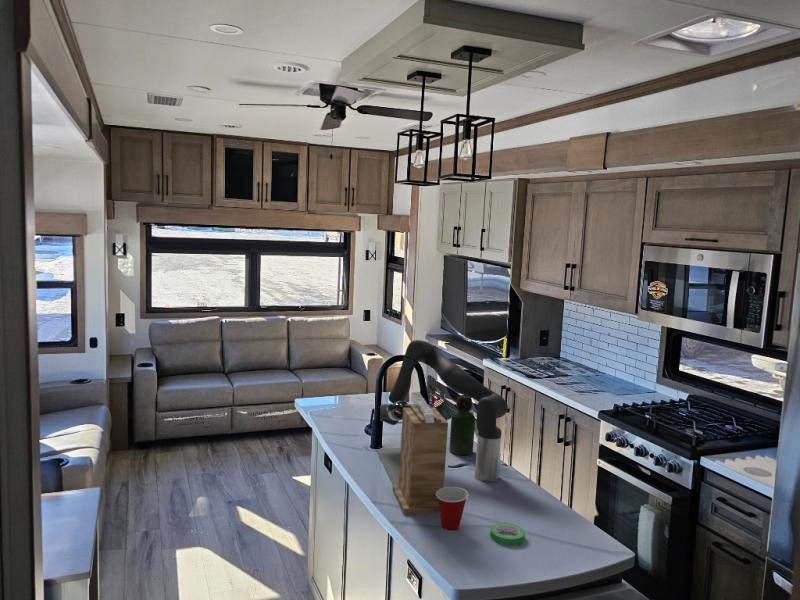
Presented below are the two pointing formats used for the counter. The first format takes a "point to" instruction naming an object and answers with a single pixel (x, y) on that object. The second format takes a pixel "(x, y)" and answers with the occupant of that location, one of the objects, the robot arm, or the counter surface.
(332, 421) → the counter surface
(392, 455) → the rubber mat
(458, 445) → the green bottle
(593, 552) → the counter surface
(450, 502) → the plastic cup
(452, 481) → the counter surface
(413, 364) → the robot arm
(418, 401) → the steel bar
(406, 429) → the brown tall ridged block
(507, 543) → the tape roll
